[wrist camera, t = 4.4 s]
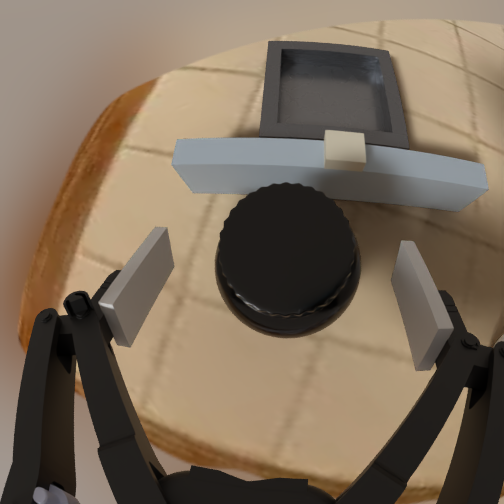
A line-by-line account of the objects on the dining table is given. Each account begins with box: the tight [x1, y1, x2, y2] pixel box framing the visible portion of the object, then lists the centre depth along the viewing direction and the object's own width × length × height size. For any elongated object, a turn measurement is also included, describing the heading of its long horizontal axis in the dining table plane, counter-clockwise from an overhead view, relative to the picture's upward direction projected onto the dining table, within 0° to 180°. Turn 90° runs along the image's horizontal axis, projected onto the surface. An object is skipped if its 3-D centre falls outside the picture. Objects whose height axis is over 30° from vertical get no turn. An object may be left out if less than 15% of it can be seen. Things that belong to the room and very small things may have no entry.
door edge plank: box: [171, 130, 489, 212], centre depth 20 cm, size 22×2×6 cm, turn 85°
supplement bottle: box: [215, 182, 361, 338], centre depth 16 cm, size 7×7×12 cm
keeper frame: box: [259, 41, 409, 150], centre depth 24 cm, size 12×12×2 cm
